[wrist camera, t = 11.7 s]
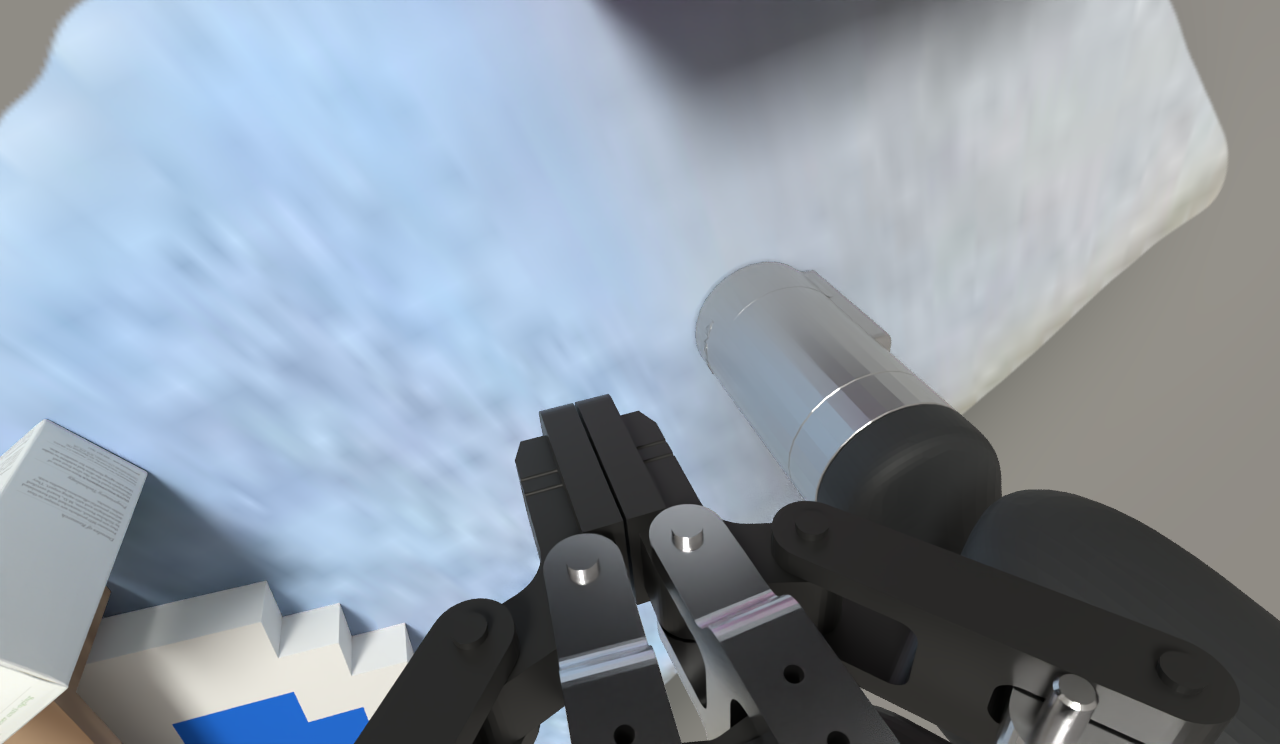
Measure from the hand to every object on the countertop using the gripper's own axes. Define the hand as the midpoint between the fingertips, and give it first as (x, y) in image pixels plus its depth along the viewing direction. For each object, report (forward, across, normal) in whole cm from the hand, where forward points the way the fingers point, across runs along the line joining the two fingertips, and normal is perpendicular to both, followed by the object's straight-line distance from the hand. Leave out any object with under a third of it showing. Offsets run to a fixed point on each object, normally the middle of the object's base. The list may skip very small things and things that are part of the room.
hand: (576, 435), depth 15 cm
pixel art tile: (+30, +26, +44) cm, 59 cm away
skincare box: (+30, +27, +18) cm, 44 cm away
